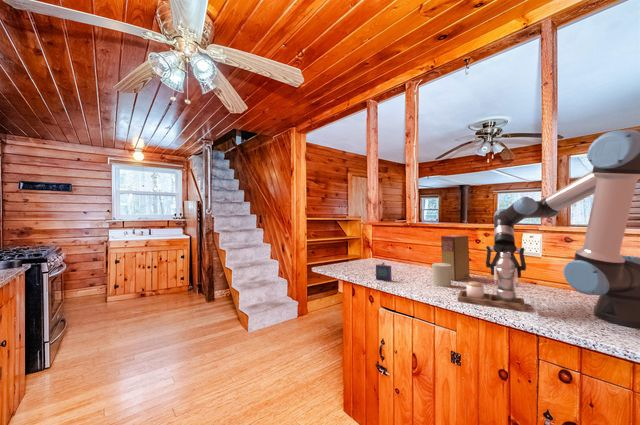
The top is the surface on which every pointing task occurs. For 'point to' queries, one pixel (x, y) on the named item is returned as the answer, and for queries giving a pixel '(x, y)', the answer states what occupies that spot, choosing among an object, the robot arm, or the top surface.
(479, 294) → the jar
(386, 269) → the flask
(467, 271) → the food packaging
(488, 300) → the caddy
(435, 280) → the can
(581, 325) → the top surface
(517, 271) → the robot arm
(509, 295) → the plastic bottle
